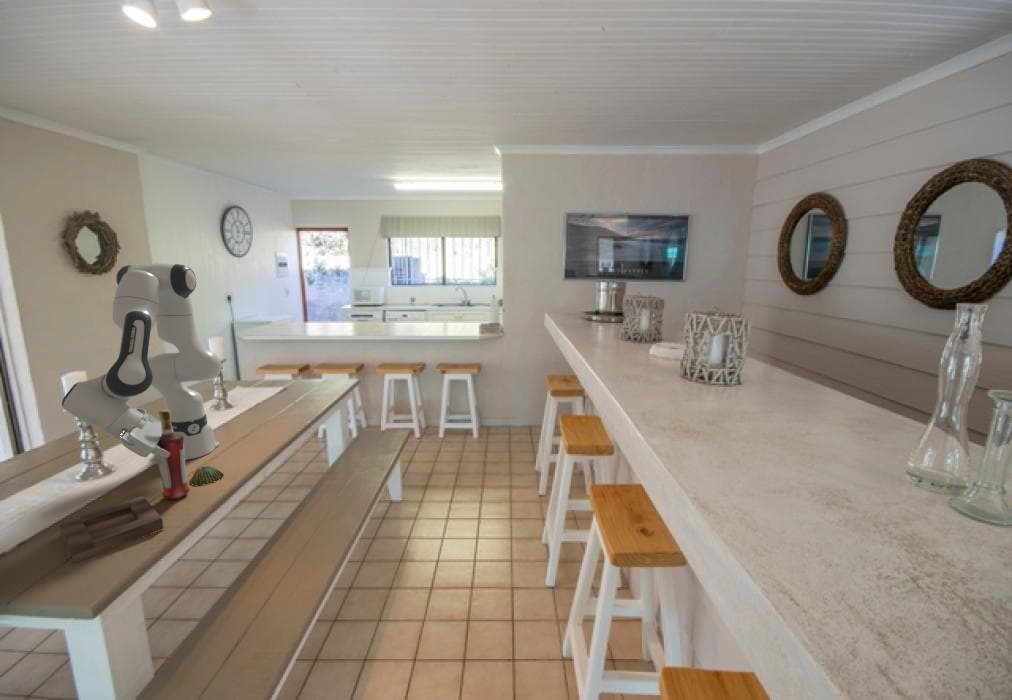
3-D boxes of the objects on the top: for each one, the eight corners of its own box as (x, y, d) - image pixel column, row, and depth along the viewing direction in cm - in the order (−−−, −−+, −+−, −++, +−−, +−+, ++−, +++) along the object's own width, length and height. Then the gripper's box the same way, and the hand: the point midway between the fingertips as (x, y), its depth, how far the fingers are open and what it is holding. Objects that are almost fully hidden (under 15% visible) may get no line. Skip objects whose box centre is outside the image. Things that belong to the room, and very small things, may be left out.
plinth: (61, 534, 120) (59, 522, 119) (145, 506, 134) (143, 496, 133) (74, 563, 109) (71, 550, 108) (163, 529, 123) (161, 518, 122)
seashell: (193, 477, 144) (184, 468, 150) (193, 489, 144) (184, 479, 151) (228, 469, 151) (218, 460, 158) (228, 481, 152) (218, 471, 158)
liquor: (159, 496, 140) (146, 411, 134) (187, 487, 145) (175, 405, 139) (165, 505, 135) (152, 417, 129) (194, 495, 140) (182, 411, 135)
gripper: (125, 427, 122) (174, 454, 129) (142, 406, 140) (184, 430, 146) (107, 446, 121) (157, 471, 127) (126, 421, 139) (169, 445, 145)
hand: (172, 449), depth 137 cm, fingers open, 8 cm apart
